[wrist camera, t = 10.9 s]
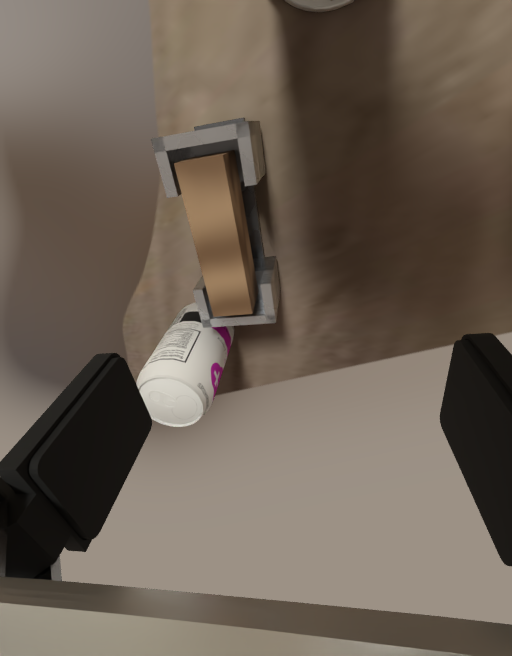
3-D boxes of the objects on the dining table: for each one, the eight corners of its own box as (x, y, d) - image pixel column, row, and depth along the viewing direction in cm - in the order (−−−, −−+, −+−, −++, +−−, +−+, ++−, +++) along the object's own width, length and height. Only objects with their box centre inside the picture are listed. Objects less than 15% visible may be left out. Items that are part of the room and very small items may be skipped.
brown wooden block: (192, 157, 30) (173, 163, 26) (234, 149, 29) (222, 154, 25) (223, 294, 37) (213, 316, 33) (258, 291, 36) (252, 313, 32)
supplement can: (244, 314, 44) (220, 392, 31) (222, 357, 48) (194, 440, 36) (188, 289, 43) (140, 359, 30) (171, 335, 47) (123, 413, 35)
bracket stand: (182, 129, 33) (148, 131, 26) (259, 115, 32) (246, 113, 24) (220, 296, 43) (204, 331, 36) (281, 291, 41) (276, 326, 34)
